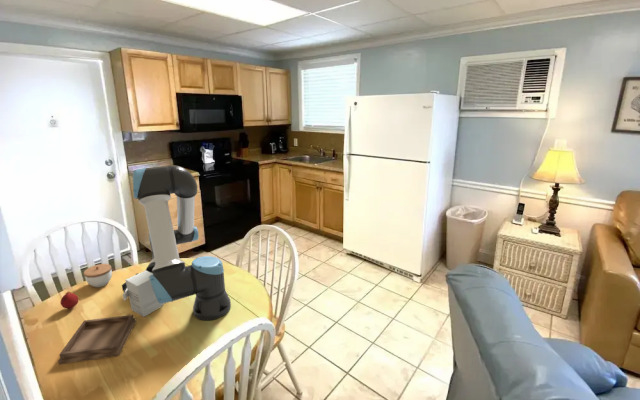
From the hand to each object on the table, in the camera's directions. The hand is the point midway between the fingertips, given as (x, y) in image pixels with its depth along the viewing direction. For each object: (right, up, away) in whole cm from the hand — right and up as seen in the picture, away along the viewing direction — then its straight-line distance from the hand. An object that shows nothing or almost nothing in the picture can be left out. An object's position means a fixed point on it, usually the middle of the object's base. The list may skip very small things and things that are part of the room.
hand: (141, 295), depth 126 cm
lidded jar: (-33, -1, +23) cm, 40 cm away
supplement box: (-1, -7, +6) cm, 9 cm away
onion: (-32, -7, +5) cm, 34 cm away
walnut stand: (-8, -13, -12) cm, 19 cm away
